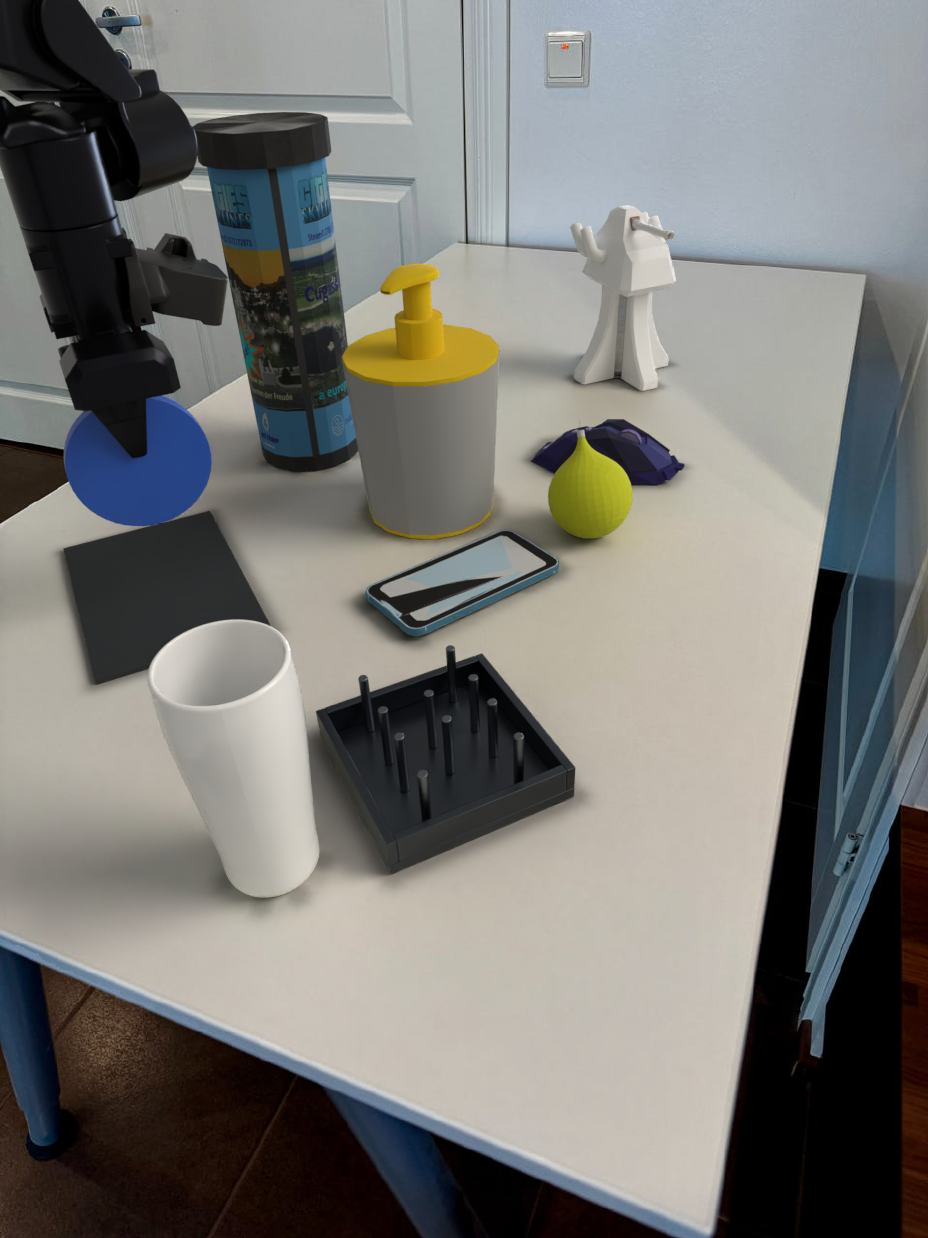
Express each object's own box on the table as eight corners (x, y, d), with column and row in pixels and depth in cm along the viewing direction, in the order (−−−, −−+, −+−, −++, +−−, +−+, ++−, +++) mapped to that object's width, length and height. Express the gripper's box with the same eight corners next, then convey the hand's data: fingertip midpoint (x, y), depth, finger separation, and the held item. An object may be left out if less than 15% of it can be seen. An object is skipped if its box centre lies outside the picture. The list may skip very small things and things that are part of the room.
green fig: (565, 505, 80) (569, 402, 74) (640, 521, 78) (650, 415, 72) (534, 543, 75) (535, 436, 69) (612, 562, 73) (620, 452, 67)
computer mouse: (556, 430, 93) (558, 394, 90) (696, 454, 87) (701, 416, 85) (522, 468, 86) (522, 431, 84) (671, 497, 81) (676, 458, 78)
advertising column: (256, 433, 95) (193, 117, 77) (359, 420, 97) (322, 108, 78) (258, 481, 86) (188, 137, 68) (371, 466, 88) (333, 126, 70)
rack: (574, 797, 53) (577, 734, 50) (390, 875, 49) (381, 812, 46) (483, 681, 62) (481, 621, 58) (320, 739, 58) (309, 678, 54)
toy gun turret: (610, 403, 98) (621, 231, 87) (552, 364, 107) (556, 205, 97) (699, 382, 101) (720, 215, 90) (635, 346, 111) (648, 191, 100)
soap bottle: (331, 513, 81) (296, 276, 68) (425, 459, 89) (410, 238, 76) (438, 560, 74) (421, 307, 61) (530, 497, 82) (532, 261, 69)
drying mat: (96, 684, 63) (94, 680, 63) (64, 551, 77) (63, 548, 77) (271, 630, 67) (271, 626, 67) (210, 514, 82) (210, 510, 81)
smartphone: (565, 562, 71) (413, 633, 64) (564, 572, 72) (414, 643, 65) (507, 526, 76) (360, 588, 69) (507, 536, 77) (361, 598, 70)
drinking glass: (279, 935, 46) (220, 731, 37) (188, 880, 49) (112, 679, 40) (357, 845, 51) (322, 643, 42) (269, 799, 54) (218, 602, 45)
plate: (225, 505, 68) (192, 382, 61) (92, 542, 65) (43, 416, 58) (222, 498, 68) (189, 376, 62) (90, 535, 65) (41, 410, 59)
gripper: (237, 232, 49) (283, 479, 59) (173, 175, 63) (219, 384, 72) (26, 265, 46) (112, 522, 55) (6, 197, 59) (78, 413, 69)
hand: (137, 451), depth 63 cm, fingers closed on plate, 1 cm apart
